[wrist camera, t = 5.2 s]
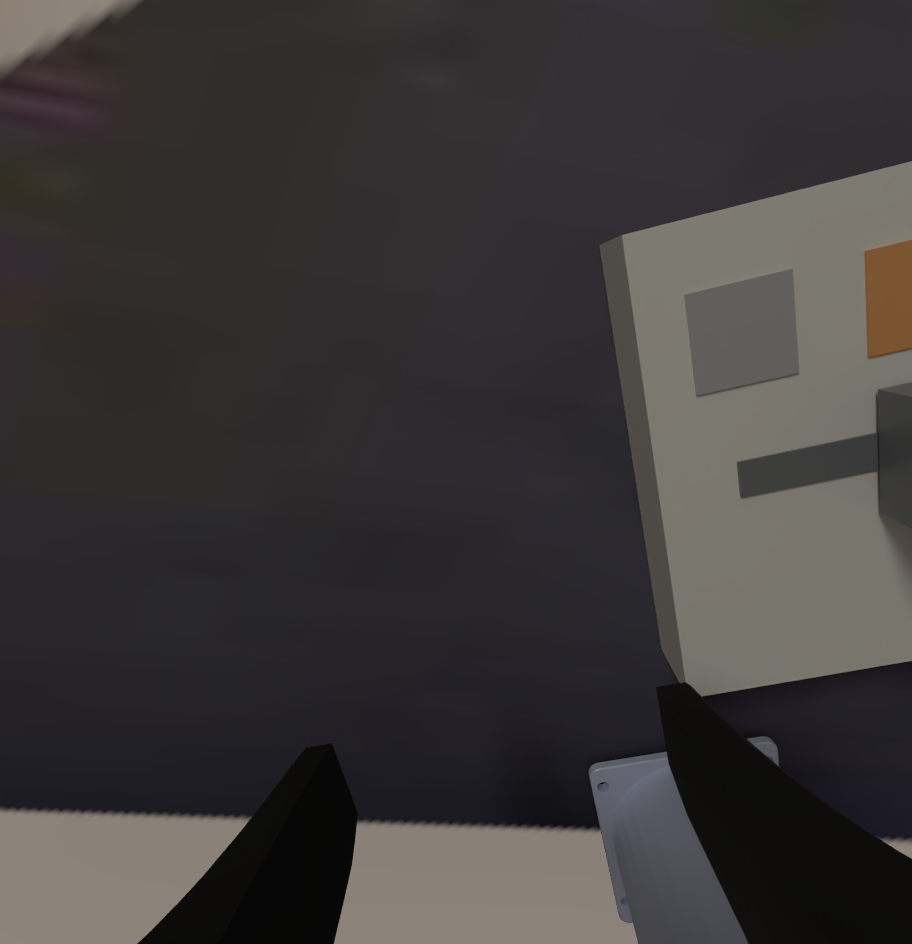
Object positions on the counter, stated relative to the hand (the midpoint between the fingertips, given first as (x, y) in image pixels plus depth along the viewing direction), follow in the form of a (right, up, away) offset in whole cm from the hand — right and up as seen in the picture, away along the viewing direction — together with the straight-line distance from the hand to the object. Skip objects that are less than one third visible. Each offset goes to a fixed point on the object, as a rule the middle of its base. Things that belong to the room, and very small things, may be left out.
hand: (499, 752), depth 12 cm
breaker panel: (+13, +8, +8) cm, 17 cm away
